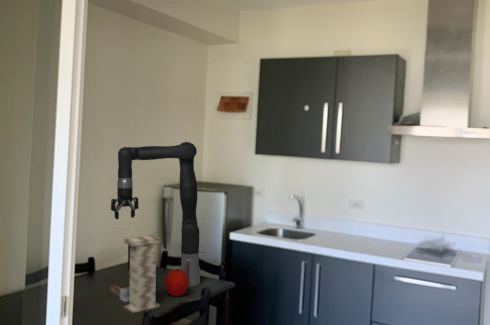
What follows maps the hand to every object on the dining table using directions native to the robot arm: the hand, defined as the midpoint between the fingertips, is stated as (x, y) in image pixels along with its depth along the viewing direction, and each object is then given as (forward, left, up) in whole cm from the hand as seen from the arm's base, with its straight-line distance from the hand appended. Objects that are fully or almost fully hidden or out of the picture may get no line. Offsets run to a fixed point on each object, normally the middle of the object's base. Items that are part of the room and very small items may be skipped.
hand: (124, 218), depth 264 cm
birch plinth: (+7, +31, -36) cm, 48 cm away
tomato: (-15, +26, -36) cm, 47 cm away
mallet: (+7, +10, -36) cm, 38 cm away
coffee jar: (-22, -27, -36) cm, 50 cm away
